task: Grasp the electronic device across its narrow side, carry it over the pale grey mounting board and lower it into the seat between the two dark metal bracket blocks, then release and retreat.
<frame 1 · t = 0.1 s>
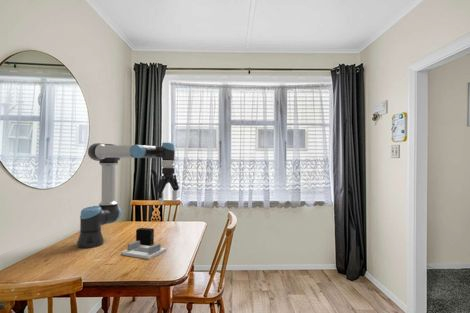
hand: (168, 202, 169), 28 cm above the table, fingers open, 13 cm apart
electronic device: (144, 245, 174), on the table
mounting board: (144, 252, 159), on the table
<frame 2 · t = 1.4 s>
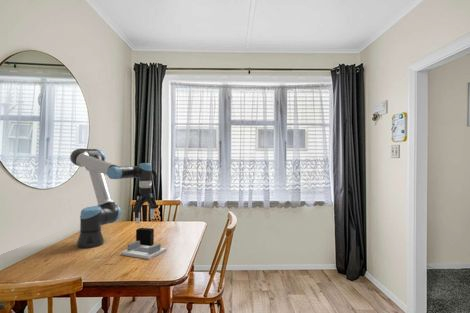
hand: (145, 220, 175), 15 cm above the table, fingers open, 13 cm apart
nothing on the table moved.
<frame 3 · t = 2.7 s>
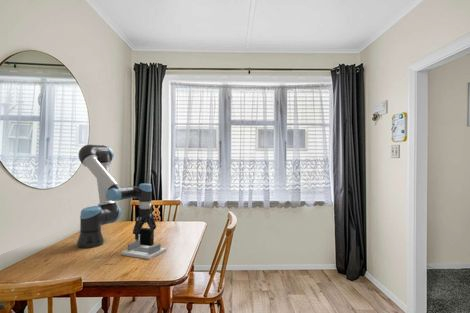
hand: (144, 242, 174), 2 cm above the table, fingers open, 12 cm apart
nothing on the table moved.
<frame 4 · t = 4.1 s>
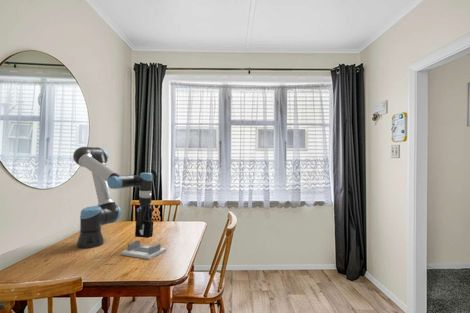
hand: (144, 233, 175), 7 cm above the table, fingers closed on electronic device, 4 cm apart
electronic device: (143, 237, 174), point 5 cm above the table, touching gripper
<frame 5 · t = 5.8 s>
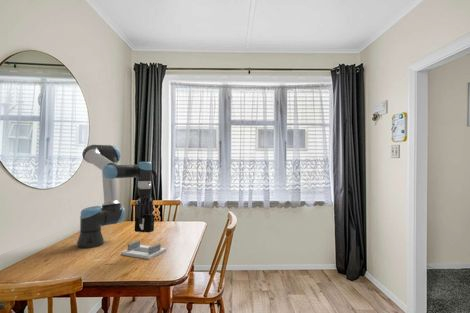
hand: (144, 228, 159), 14 cm above the table, fingers closed on electronic device, 4 cm apart
electronic device: (144, 232, 159), point 12 cm above the table, touching gripper
when the fingers open (3 cm above the table, at t = 7.8 s): electronic device stays where it is, resting on mounting board.
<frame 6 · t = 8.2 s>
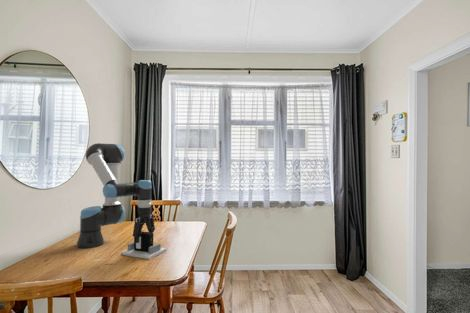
hand: (144, 245, 159), 4 cm above the table, fingers open, 9 cm apart
electronic device: (143, 250, 158), point 2 cm above the table, touching mounting board
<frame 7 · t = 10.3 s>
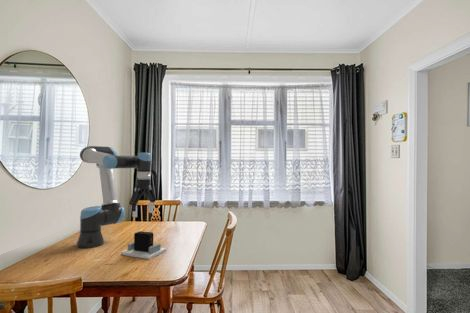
hand: (143, 214, 162), 21 cm above the table, fingers open, 13 cm apart
nothing on the table moved.
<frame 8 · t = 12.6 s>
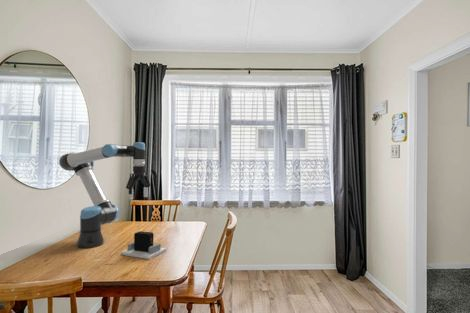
hand: (138, 198, 181), 29 cm above the table, fingers open, 13 cm apart
nothing on the table moved.
at the end: electronic device inside the target area on the mounting board (0.8 cm from its centre), point 1.5 cm above the mounting board's base; electronic device tilted 0°; the gripper is holding nothing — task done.
